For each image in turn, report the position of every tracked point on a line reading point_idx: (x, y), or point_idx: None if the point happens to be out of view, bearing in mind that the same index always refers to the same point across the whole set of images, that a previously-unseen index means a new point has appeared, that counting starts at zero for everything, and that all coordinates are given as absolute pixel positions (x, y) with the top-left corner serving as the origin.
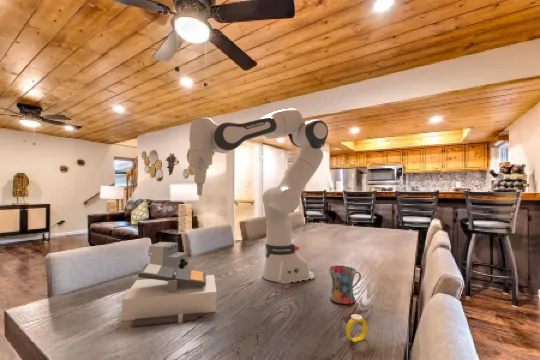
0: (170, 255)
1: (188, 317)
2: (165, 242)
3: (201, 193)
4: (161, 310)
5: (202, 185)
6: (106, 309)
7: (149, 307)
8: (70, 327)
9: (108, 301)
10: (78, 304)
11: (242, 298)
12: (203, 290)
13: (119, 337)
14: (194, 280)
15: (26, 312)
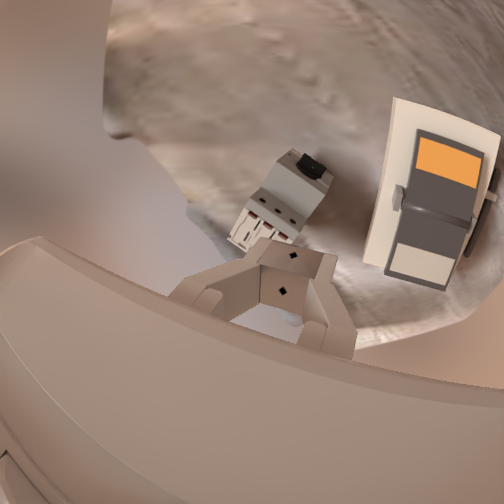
0: (297, 209)
1: (496, 184)
2: (237, 229)
3: (333, 268)
4: None
5: (354, 343)
6: (390, 280)
7: None
8: (421, 310)
9: (360, 278)
10: (352, 307)
11: (448, 55)
12: (485, 157)
13: (480, 267)
14: (477, 178)
15: None
